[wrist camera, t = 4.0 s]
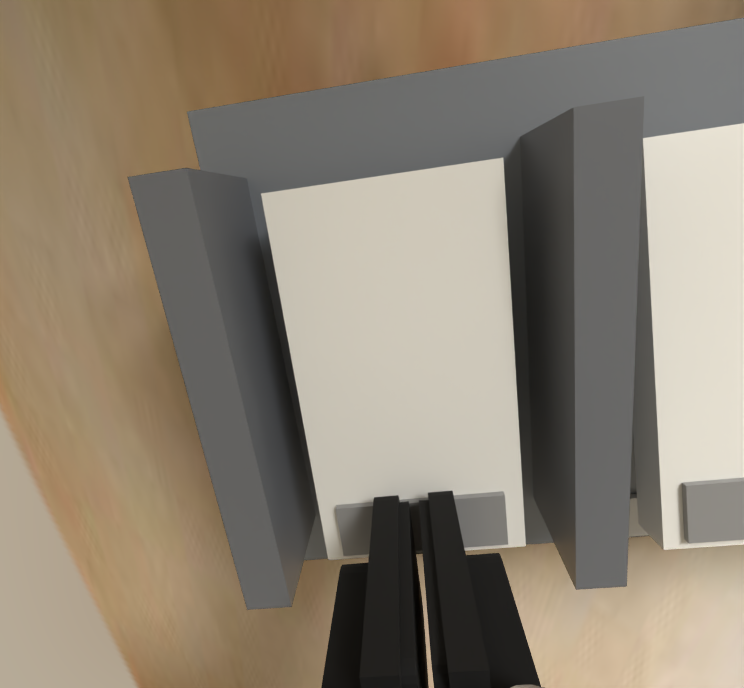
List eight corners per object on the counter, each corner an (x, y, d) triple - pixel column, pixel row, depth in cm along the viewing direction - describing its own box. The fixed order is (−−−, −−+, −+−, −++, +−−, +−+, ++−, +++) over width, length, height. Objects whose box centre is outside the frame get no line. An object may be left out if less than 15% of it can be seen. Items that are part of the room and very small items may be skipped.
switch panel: (235, 132, 13) (98, 73, 7) (1136, -14, 11) (2014, -273, 5) (310, 497, 16) (261, 660, 10) (999, 439, 14) (1416, 603, 8)
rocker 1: (275, 197, 9) (258, 192, 8) (492, 165, 9) (504, 155, 8) (334, 531, 11) (327, 565, 10) (514, 517, 11) (527, 551, 10)
